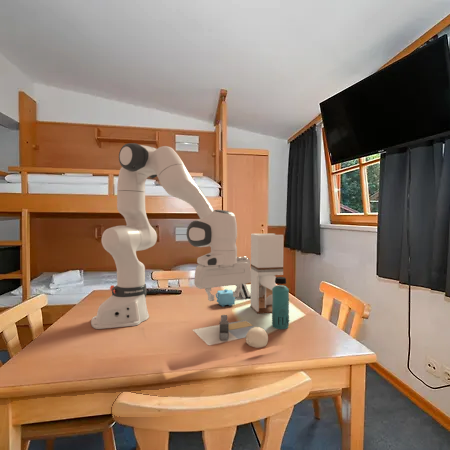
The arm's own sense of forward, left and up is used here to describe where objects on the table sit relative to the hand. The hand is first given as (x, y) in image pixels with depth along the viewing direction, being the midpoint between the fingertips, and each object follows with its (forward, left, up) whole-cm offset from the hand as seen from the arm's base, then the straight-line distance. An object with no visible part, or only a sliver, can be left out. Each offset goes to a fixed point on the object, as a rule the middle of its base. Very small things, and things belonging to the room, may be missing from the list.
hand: (223, 298), depth 98 cm
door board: (+4, +4, -15) cm, 16 cm away
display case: (+31, +19, -15) cm, 39 cm away
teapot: (+21, +37, -15) cm, 45 cm away
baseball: (+7, -9, -15) cm, 19 cm away
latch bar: (+1, +2, -13) cm, 13 cm away
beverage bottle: (+24, 0, -15) cm, 28 cm away
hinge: (+37, +50, -15) cm, 64 cm away
